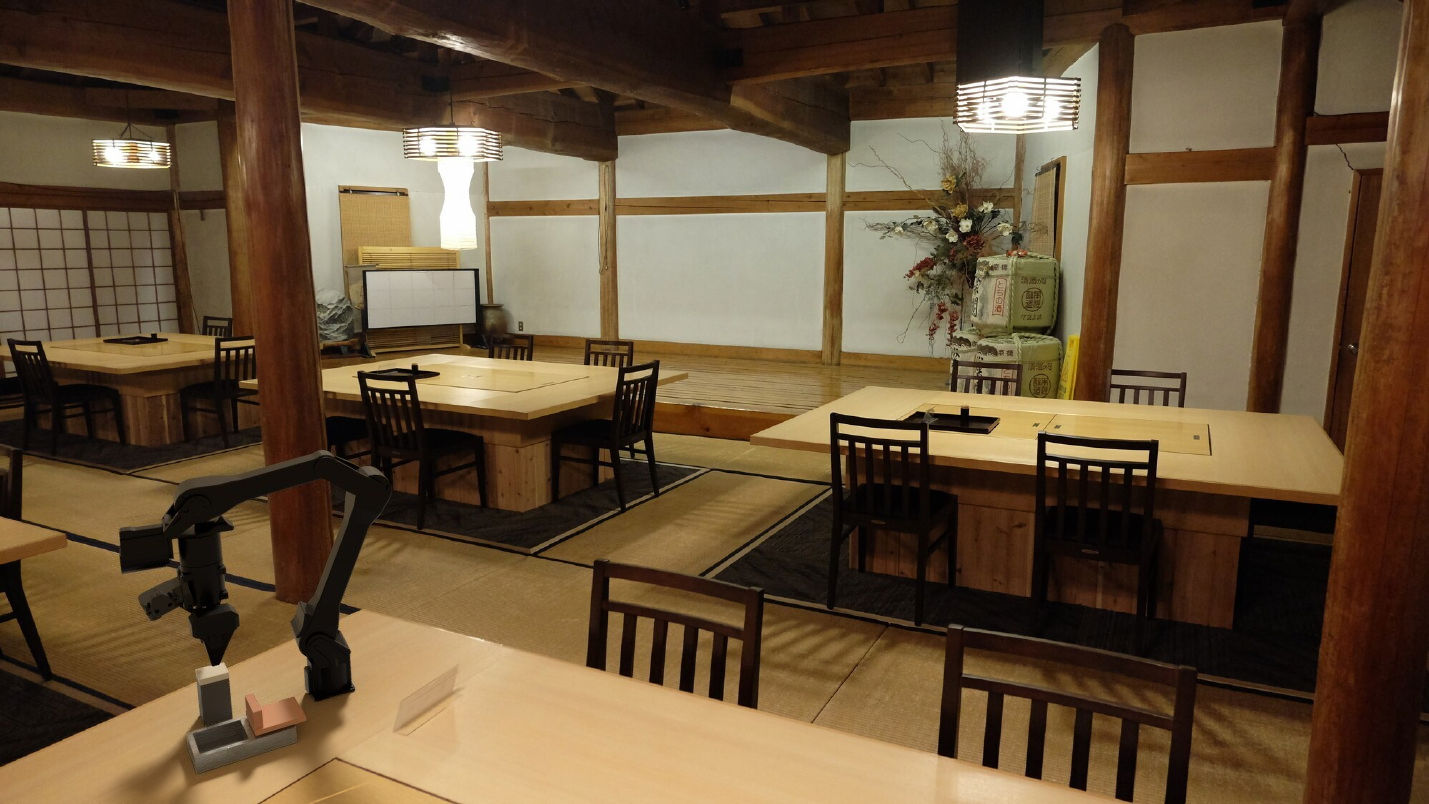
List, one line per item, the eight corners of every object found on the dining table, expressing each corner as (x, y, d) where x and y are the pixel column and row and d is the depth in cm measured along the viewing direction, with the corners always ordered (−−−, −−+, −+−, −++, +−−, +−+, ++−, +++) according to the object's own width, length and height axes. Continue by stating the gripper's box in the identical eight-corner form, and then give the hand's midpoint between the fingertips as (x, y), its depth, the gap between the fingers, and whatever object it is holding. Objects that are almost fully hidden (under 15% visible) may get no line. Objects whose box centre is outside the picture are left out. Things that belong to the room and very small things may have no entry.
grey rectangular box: (284, 718, 138) (283, 704, 138) (297, 742, 132) (296, 727, 132) (187, 747, 130) (186, 732, 129) (196, 774, 124) (195, 758, 123)
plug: (227, 707, 141) (223, 662, 140) (232, 718, 138) (228, 672, 136) (199, 715, 139) (195, 669, 137) (204, 726, 136) (199, 679, 134)
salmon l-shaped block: (294, 700, 138) (293, 680, 138) (306, 720, 133) (304, 699, 132) (245, 715, 134) (244, 694, 133) (255, 736, 129) (253, 714, 128)
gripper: (132, 553, 135) (142, 645, 138) (147, 593, 121) (158, 695, 124) (213, 539, 142) (221, 627, 145) (236, 575, 128) (244, 672, 131)
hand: (210, 653), depth 136 cm, fingers open, 9 cm apart
